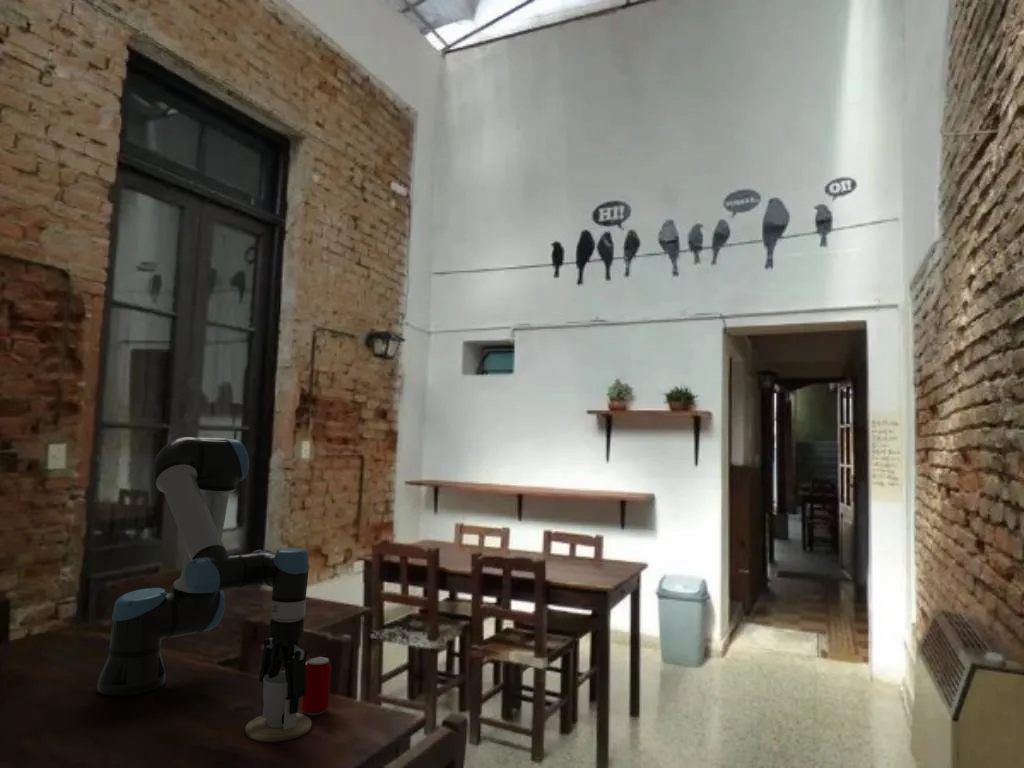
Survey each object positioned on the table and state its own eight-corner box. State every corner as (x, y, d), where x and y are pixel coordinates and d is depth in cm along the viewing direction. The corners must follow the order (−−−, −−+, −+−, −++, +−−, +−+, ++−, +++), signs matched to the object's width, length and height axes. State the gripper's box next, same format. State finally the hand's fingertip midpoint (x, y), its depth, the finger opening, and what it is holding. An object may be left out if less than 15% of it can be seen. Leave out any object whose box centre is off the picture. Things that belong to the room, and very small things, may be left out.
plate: (233, 728, 147) (233, 724, 147) (288, 710, 158) (288, 706, 158) (267, 748, 138) (268, 743, 138) (323, 728, 149) (323, 724, 149)
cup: (285, 732, 144) (289, 685, 144) (252, 727, 145) (256, 681, 146) (304, 718, 151) (307, 673, 152) (272, 713, 153) (276, 669, 154)
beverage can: (313, 705, 162) (317, 654, 163) (333, 710, 159) (336, 659, 160) (295, 713, 156) (299, 661, 158) (315, 719, 154) (319, 666, 155)
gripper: (248, 611, 154) (239, 713, 152) (299, 630, 141) (290, 741, 139) (277, 606, 160) (269, 704, 158) (328, 624, 147) (320, 730, 145)
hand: (279, 721), depth 148 cm, fingers closed on cup, 8 cm apart
